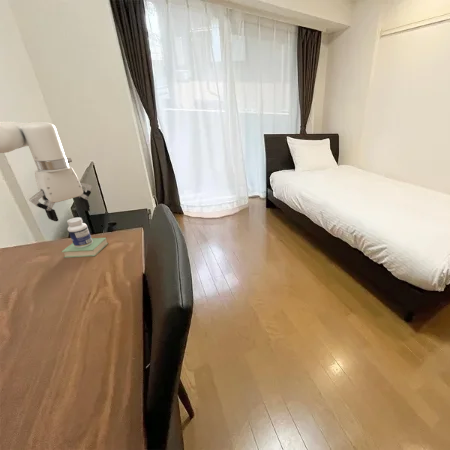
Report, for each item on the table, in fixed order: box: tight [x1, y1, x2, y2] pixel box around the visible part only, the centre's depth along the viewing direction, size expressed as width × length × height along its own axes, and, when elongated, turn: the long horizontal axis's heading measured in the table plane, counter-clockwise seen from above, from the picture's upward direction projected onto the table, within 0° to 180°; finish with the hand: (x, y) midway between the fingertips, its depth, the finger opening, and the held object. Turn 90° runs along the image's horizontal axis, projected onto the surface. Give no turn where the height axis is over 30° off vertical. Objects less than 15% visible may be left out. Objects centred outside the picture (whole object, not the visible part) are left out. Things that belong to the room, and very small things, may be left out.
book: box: [61, 237, 109, 259], centre depth 97 cm, size 10×9×2 cm
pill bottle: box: [66, 216, 93, 248], centre depth 95 cm, size 5×5×10 cm
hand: (71, 215), depth 91 cm, fingers open, 9 cm apart
